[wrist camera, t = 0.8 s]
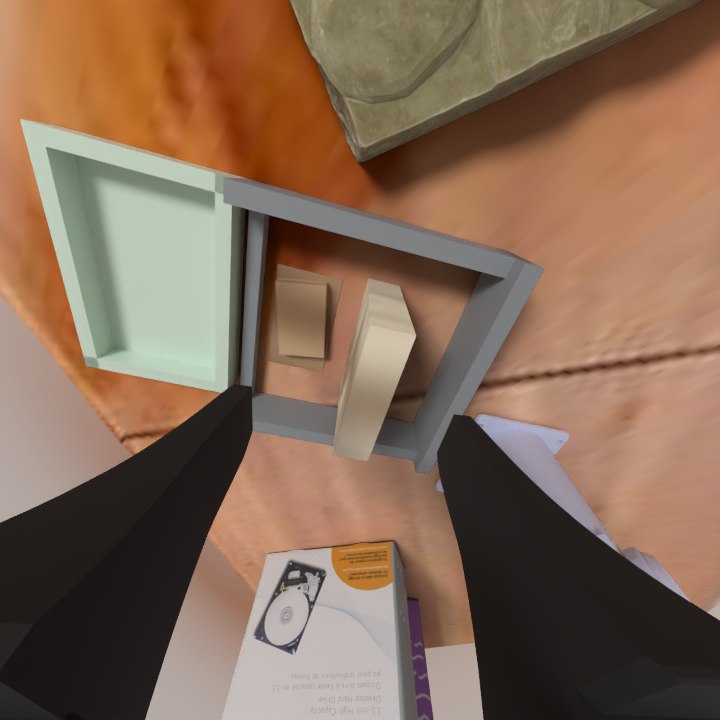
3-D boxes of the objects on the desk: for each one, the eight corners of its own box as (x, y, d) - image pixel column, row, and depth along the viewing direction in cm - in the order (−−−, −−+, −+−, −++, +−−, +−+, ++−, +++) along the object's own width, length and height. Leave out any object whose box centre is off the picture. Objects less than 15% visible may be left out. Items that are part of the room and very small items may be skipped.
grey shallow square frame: (420, 433, 25) (429, 474, 21) (237, 398, 23) (214, 435, 20) (508, 251, 17) (544, 268, 14) (247, 178, 16) (213, 177, 12)
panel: (367, 386, 22) (367, 461, 16) (341, 381, 22) (332, 455, 16) (399, 285, 18) (416, 335, 12) (368, 278, 18) (370, 325, 12)
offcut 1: (324, 352, 21) (323, 358, 20) (281, 348, 21) (279, 354, 20) (327, 282, 18) (326, 286, 18) (278, 277, 18) (275, 281, 17)
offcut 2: (323, 366, 22) (322, 372, 22) (270, 355, 22) (267, 360, 21) (343, 276, 19) (342, 280, 18) (280, 260, 18) (277, 263, 18)
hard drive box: (394, 536, 33) (426, 921, 16) (405, 570, 37) (440, 909, 20) (263, 552, 35) (167, 907, 18) (287, 582, 39) (225, 898, 22)
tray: (238, 377, 22) (227, 393, 20) (109, 351, 21) (86, 366, 19) (247, 178, 16) (232, 177, 14) (60, 126, 15) (20, 118, 13)
